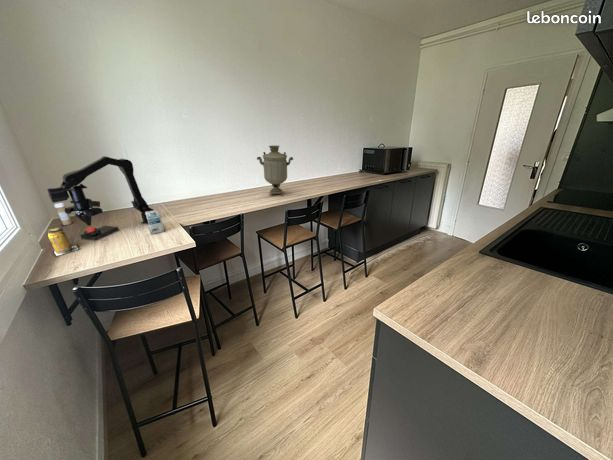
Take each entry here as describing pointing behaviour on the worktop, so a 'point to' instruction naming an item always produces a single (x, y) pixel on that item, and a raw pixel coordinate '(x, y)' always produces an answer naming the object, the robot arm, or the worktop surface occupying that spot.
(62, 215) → the sprinkles bottle
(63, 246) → the condiment
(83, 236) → the black control pad
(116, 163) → the robot arm
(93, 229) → the button
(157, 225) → the light bulb box
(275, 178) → the samovar
